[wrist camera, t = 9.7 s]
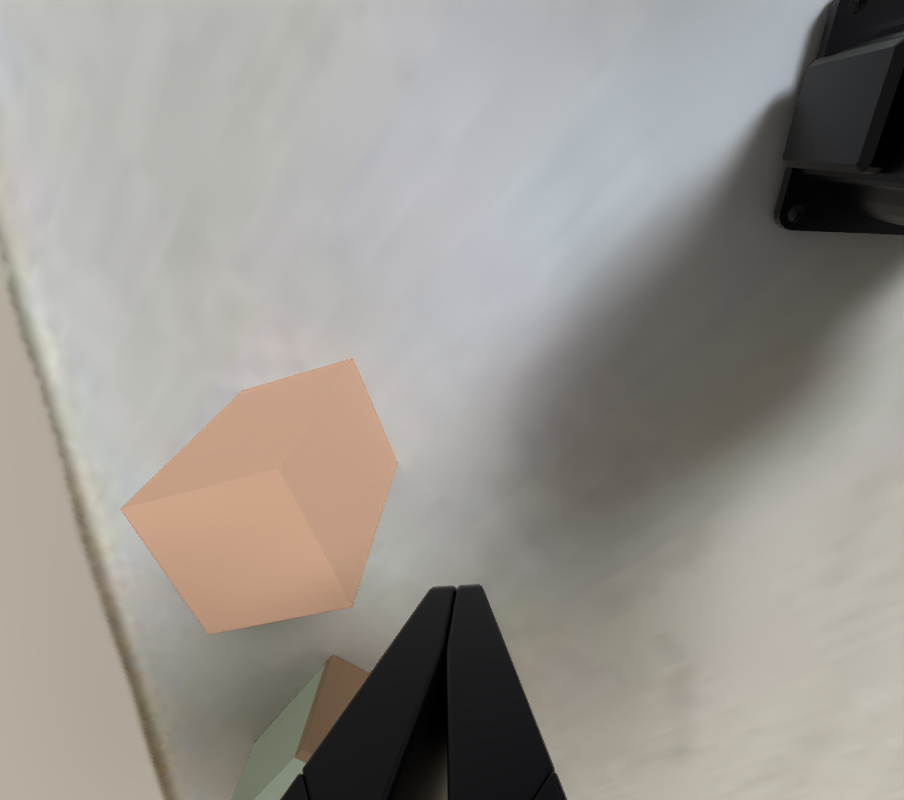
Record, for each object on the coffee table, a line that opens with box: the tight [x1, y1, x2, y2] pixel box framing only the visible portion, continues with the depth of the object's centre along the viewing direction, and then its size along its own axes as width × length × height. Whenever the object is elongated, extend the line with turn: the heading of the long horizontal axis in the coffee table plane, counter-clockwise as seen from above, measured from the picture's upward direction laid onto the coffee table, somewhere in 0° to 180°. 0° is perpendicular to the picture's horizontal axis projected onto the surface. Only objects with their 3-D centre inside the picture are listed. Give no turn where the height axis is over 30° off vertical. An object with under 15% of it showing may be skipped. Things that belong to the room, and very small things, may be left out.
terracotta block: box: [120, 358, 398, 634], centre depth 19 cm, size 5×5×8 cm
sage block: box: [231, 655, 370, 800], centre depth 29 cm, size 5×5×10 cm
